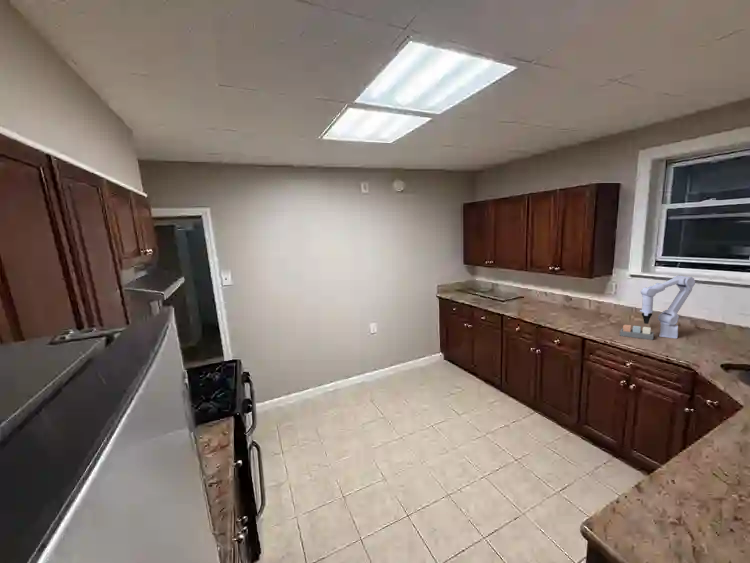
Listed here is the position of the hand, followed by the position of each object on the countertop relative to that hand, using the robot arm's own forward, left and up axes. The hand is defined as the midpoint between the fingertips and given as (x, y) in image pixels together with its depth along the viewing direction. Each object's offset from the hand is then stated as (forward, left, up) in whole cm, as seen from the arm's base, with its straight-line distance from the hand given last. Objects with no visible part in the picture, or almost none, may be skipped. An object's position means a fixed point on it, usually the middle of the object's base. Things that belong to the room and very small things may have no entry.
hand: (646, 323), depth 231 cm
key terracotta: (+11, 0, -7) cm, 13 cm away
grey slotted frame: (+5, 0, -10) cm, 12 cm away
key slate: (+5, 0, -7) cm, 9 cm away
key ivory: (0, 0, -7) cm, 7 cm away
